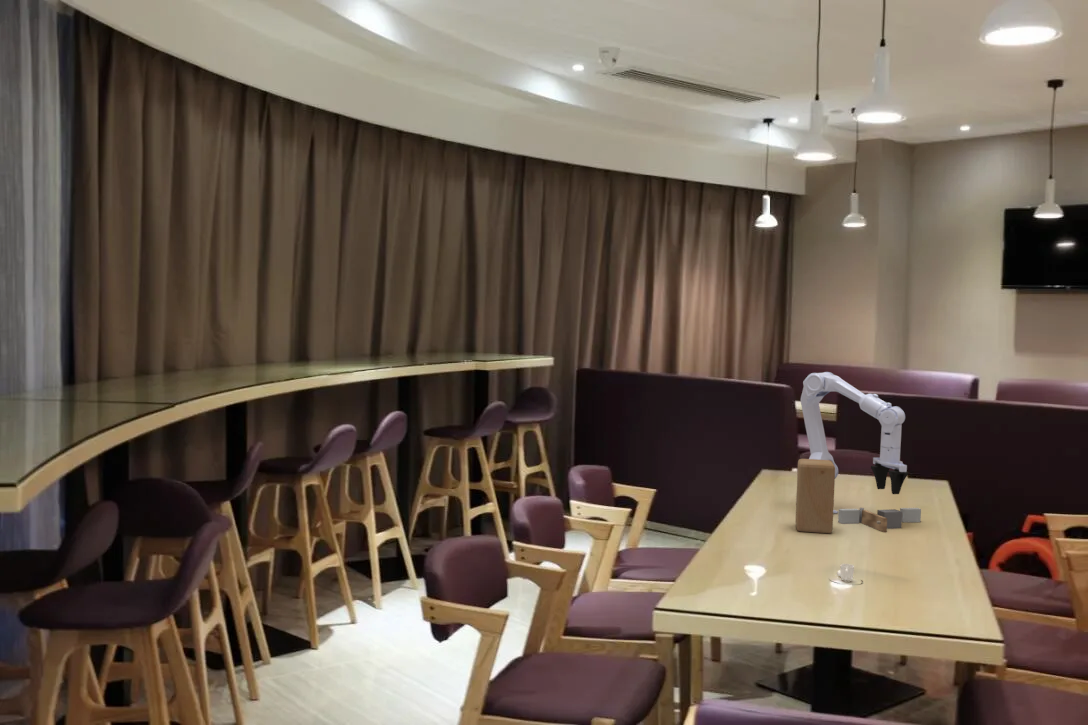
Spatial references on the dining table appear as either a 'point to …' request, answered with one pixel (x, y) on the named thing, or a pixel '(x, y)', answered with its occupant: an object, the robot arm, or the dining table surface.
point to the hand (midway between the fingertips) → (888, 491)
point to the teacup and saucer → (846, 572)
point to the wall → (856, 515)
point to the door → (874, 520)
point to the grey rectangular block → (892, 517)
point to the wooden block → (815, 495)
